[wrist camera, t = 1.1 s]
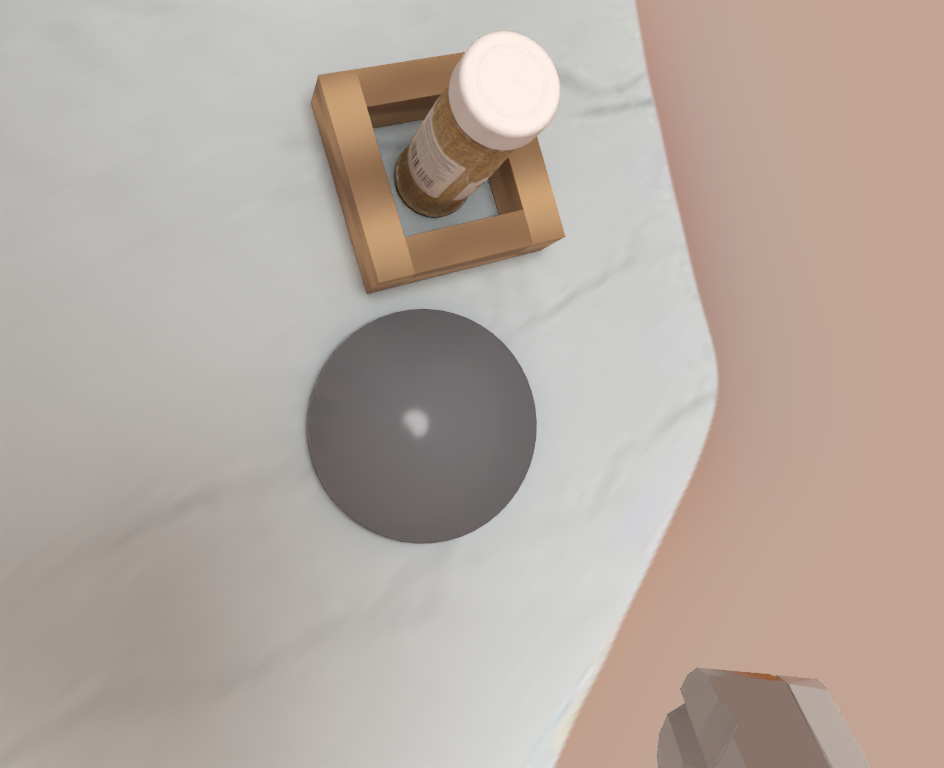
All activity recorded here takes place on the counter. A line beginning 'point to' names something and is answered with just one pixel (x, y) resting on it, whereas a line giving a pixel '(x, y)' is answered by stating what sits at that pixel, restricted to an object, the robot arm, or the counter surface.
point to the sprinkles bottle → (478, 121)
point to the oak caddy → (368, 191)
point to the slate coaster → (422, 426)
